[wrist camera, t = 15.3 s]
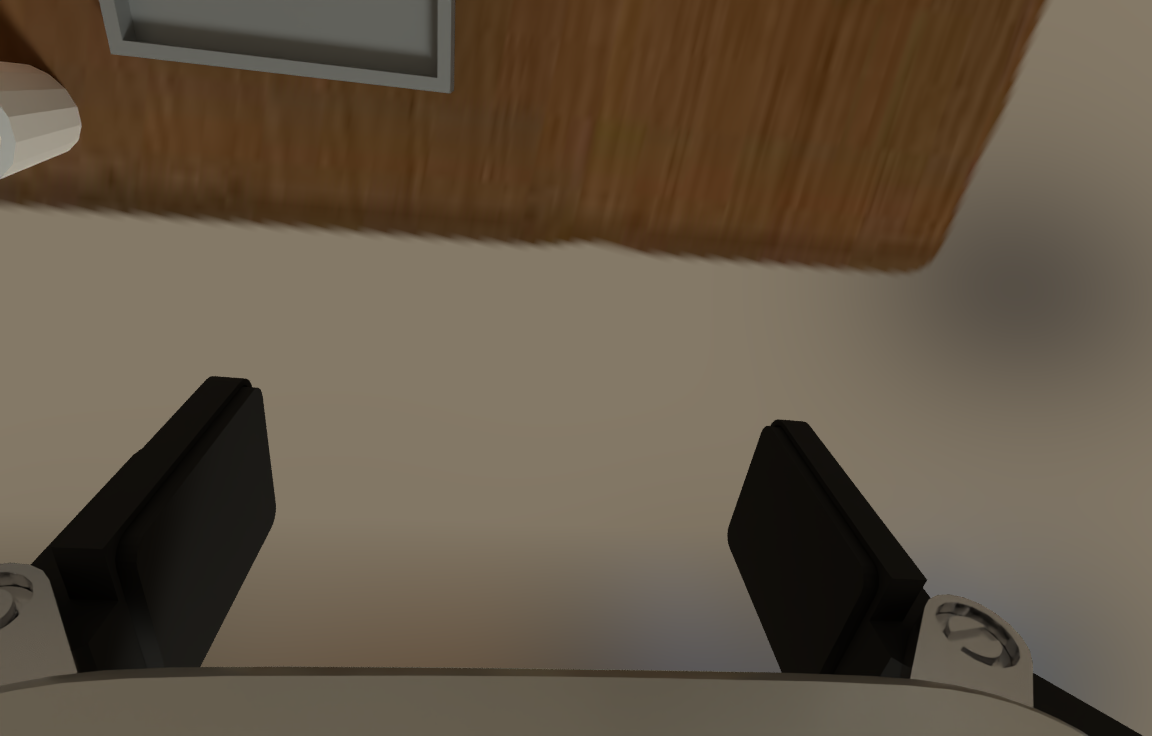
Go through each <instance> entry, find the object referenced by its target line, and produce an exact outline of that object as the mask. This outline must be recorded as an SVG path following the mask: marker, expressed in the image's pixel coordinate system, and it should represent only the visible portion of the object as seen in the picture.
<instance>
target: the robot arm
mask: <svg viewBox="0 0 1152 736" xmlns="http://www.w3.org/2000/svg"><path fill="white" fill-rule="evenodd" d="M275 512H276V503H275V494H274V487H273V478H272V470H271V462H270V454H269V446H268V438H267V429H266V420H265V412H264V404H263V396H262V392H261V390H260V389H259V388H253V387H252V385H251V383H250V381H249V380H248V379H243V378H230V377H216V376H212V377H209V378H208V379H206V381H205V382H204V383H203V384H202V385H201V386H200V387H199V388H198V389H197V390H196V391H195V393H194V394H193V395H192V396H191V397H190V398H189V399H188V400H187V401H186V402H185V403H184V404H183V405H182V406H181V407H180V409H179V410H178V411H177V412H176V413H175V414H174V415H173V416H172V417H171V418H170V419H169V420H168V421H167V423H166V424H165V425H164V426H163V427H162V428H161V429H160V430H159V431H158V432H157V433H156V434H155V435H154V437H153V438H152V439H151V440H150V441H149V442H148V443H147V444H146V445H145V446H144V448H142V449H141V450H139V451H138V452H137V453H135V454H134V455H133V456H132V457H131V458H130V459H129V460H128V461H127V462H126V463H125V464H124V466H123V467H122V468H121V469H120V470H119V471H118V472H117V473H116V474H115V475H114V476H113V477H112V478H111V479H110V481H109V482H108V483H107V484H106V485H105V486H104V487H103V488H102V489H101V490H100V491H99V492H98V493H97V494H96V495H95V497H94V498H93V499H92V500H91V501H90V502H89V503H88V504H87V505H86V506H85V507H84V508H83V509H82V511H80V513H79V514H78V515H77V516H76V517H75V518H74V519H73V520H72V521H71V522H70V523H69V524H68V525H67V527H66V528H65V529H64V530H63V531H62V532H61V533H60V534H59V535H58V536H57V537H56V538H55V539H54V540H53V541H52V542H51V544H50V545H49V546H48V547H47V548H46V549H45V550H44V551H43V552H42V553H41V554H40V555H39V556H38V557H37V558H36V560H35V561H34V562H33V563H32V564H31V565H29V564H19V563H4V564H0V736H1142V735H1141V734H1139V733H1137V732H1135V731H1134V730H1132V729H1130V728H1128V727H1126V726H1125V725H1123V724H1121V723H1120V722H1118V721H1116V720H1114V719H1113V718H1111V717H1109V716H1107V715H1106V714H1104V713H1102V712H1100V711H1099V710H1097V709H1095V708H1093V707H1092V706H1090V705H1088V704H1086V703H1084V702H1083V701H1081V700H1079V699H1077V698H1076V697H1074V696H1073V695H1071V694H1069V693H1067V692H1065V691H1064V690H1062V689H1060V688H1059V687H1057V686H1055V685H1053V684H1052V683H1050V682H1048V681H1046V680H1045V679H1043V678H1041V677H1039V676H1038V675H1036V674H1034V673H1033V662H1032V658H1031V654H1030V650H1029V649H1028V647H1027V645H1026V644H1025V642H1024V640H1023V639H1022V637H1021V636H1020V635H1019V634H1018V633H1017V632H1016V631H1015V630H1014V629H1013V628H1012V626H1011V625H1010V624H1008V623H1007V622H1006V621H1004V620H1003V619H1002V618H1001V617H1000V616H998V615H997V614H996V613H994V612H992V611H991V610H989V609H987V608H985V607H984V606H982V605H981V604H979V603H976V602H974V601H971V600H969V599H966V598H964V597H959V596H954V595H937V596H935V597H933V598H930V597H929V595H928V594H927V593H926V591H925V590H924V589H923V586H924V584H925V582H926V581H927V579H926V578H925V577H924V575H923V574H922V573H921V571H920V570H919V569H918V568H917V566H916V565H915V563H914V562H913V561H912V559H911V558H910V557H909V556H908V554H907V553H906V552H905V550H904V549H903V548H902V546H901V545H900V544H899V542H898V541H897V540H896V539H895V537H894V536H893V535H892V533H891V532H890V531H889V529H888V528H887V527H886V525H885V524H884V523H883V521H882V520H881V519H880V517H879V516H878V515H877V514H876V512H875V511H874V510H873V508H872V507H871V506H870V504H869V503H868V502H867V500H866V499H865V498H864V496H863V495H862V494H861V493H860V491H859V490H858V489H857V487H856V486H855V485H854V483H853V482H852V481H851V479H850V478H849V477H848V475H847V474H846V473H845V472H844V470H843V469H842V468H841V466H840V465H839V464H838V462H837V461H836V460H835V458H834V457H833V456H832V455H831V453H830V452H829V451H828V449H827V448H826V447H825V445H824V444H823V443H822V441H821V440H820V439H819V437H818V436H817V435H816V433H815V432H814V431H813V429H812V428H811V427H810V426H809V424H807V423H806V422H803V421H790V420H775V421H774V422H773V423H772V424H771V426H766V427H765V428H764V429H763V430H762V432H761V435H760V438H759V441H758V444H757V447H756V450H755V452H754V455H753V459H752V461H751V464H750V467H749V470H748V473H747V475H746V479H745V481H744V484H743V487H742V490H741V493H740V496H739V498H738V501H737V504H736V507H735V510H734V513H733V516H732V519H731V522H730V525H729V528H728V544H729V547H730V550H731V552H732V554H733V557H734V559H735V562H736V564H737V566H738V569H739V571H740V574H741V576H742V578H743V580H744V583H745V586H746V588H747V590H748V593H749V595H750V597H751V600H752V602H753V605H754V607H755V609H756V612H757V614H758V616H759V619H760V621H761V624H762V626H763V629H764V631H765V633H766V636H767V638H768V640H769V643H770V645H771V648H772V650H773V652H774V655H775V657H776V660H777V662H778V664H779V667H780V669H781V672H782V673H767V672H766V673H765V672H712V671H661V670H594V669H518V668H517V669H516V668H515V669H514V668H421V667H416V668H415V667H414V668H413V667H200V666H201V664H202V662H203V660H204V658H205V656H206V654H207V652H208V651H209V649H210V647H211V644H212V643H213V641H214V638H215V637H216V635H217V633H218V631H219V629H220V627H221V625H222V623H223V621H224V619H225V617H226V615H227V613H228V611H229V609H230V607H231V606H232V604H233V601H234V600H235V598H236V596H237V594H238V591H239V590H240V588H241V586H242V584H243V582H244V580H245V578H246V576H247V574H248V572H249V570H250V568H251V566H252V564H253V562H254V560H255V559H256V557H257V555H258V553H259V551H260V549H261V547H262V545H263V543H264V541H265V539H266V537H267V535H268V533H269V531H270V529H271V527H272V525H273V522H274V519H275Z"/></svg>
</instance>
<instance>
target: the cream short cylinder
mask: <svg viewBox="0 0 1152 736" xmlns="http://www.w3.org/2000/svg"><path fill="white" fill-rule="evenodd" d="M80 130H81V120H80V116H79V112H78V108H77V106H76V104H75V103H74V101H73V100H72V98H71V96H70V95H69V93H68V92H67V90H66V89H65V88H64V87H63V86H62V85H61V84H60V83H58V82H57V81H56V80H55V79H54V78H53V77H52V76H50V75H49V74H48V73H46V72H43V71H41V70H39V69H37V68H35V67H33V66H31V65H28V64H19V63H11V62H1V61H0V179H2V178H4V177H6V176H9V175H11V174H14V173H16V172H19V171H21V170H23V169H26V168H28V167H31V166H33V165H36V164H38V163H40V162H43V161H45V160H48V159H50V158H53V157H55V156H58V155H60V154H62V153H65V152H67V151H69V150H70V149H71V148H72V147H73V146H74V145H75V144H76V142H77V141H78V140H79V135H80Z"/></svg>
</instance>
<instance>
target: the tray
mask: <svg viewBox="0 0 1152 736" xmlns="http://www.w3.org/2000/svg"><path fill="white" fill-rule="evenodd" d="M99 2H100V7H101V11H102V16H103V20H104V24H105V29H106V33H107V38H108V42H109V47H110V51H111V54H116V55H125V56H134V57H142V58H151V59H160V60H168V61H177V62H185V63H194V64H203V65H211V66H220V67H228V68H237V69H246V70H254V71H263V72H272V73H280V74H289V75H297V76H306V77H315V78H323V79H332V80H341V81H349V82H358V83H366V84H375V85H384V86H392V87H401V88H409V89H418V90H427V91H435V92H444V93H451V92H452V91H454V45H455V0H99Z"/></svg>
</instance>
